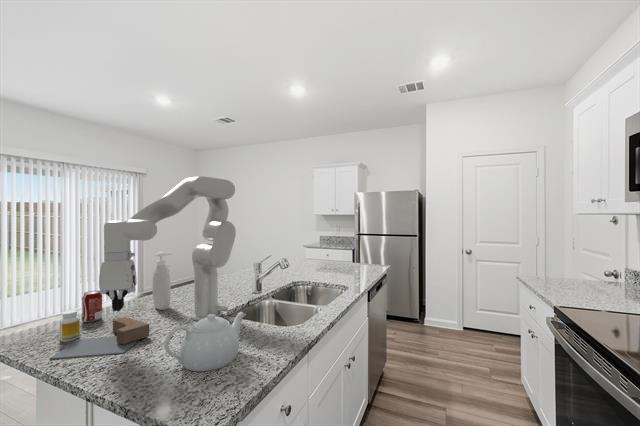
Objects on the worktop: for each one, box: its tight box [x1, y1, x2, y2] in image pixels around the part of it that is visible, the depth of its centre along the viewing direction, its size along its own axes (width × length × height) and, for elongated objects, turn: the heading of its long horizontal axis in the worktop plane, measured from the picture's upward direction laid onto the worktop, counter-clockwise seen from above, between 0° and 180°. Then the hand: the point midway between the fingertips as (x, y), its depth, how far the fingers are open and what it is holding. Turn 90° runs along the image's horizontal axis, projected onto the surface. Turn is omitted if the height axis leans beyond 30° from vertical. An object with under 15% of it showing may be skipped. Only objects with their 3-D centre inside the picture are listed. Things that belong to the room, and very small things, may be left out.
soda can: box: [81, 289, 103, 323], centre depth 124 cm, size 7×7×12 cm
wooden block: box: [112, 316, 150, 345], centre depth 107 cm, size 9×4×18 cm
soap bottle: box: [151, 251, 173, 311], centre depth 140 cm, size 14×8×27 cm, turn 48°
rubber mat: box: [49, 335, 137, 361], centre depth 99 cm, size 21×14×1 cm, turn 100°
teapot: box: [164, 311, 247, 372], centre depth 90 cm, size 19×18×14 cm
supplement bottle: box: [59, 309, 81, 343], centre depth 105 cm, size 5×5×10 cm
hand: (118, 309), depth 100 cm, fingers closed
